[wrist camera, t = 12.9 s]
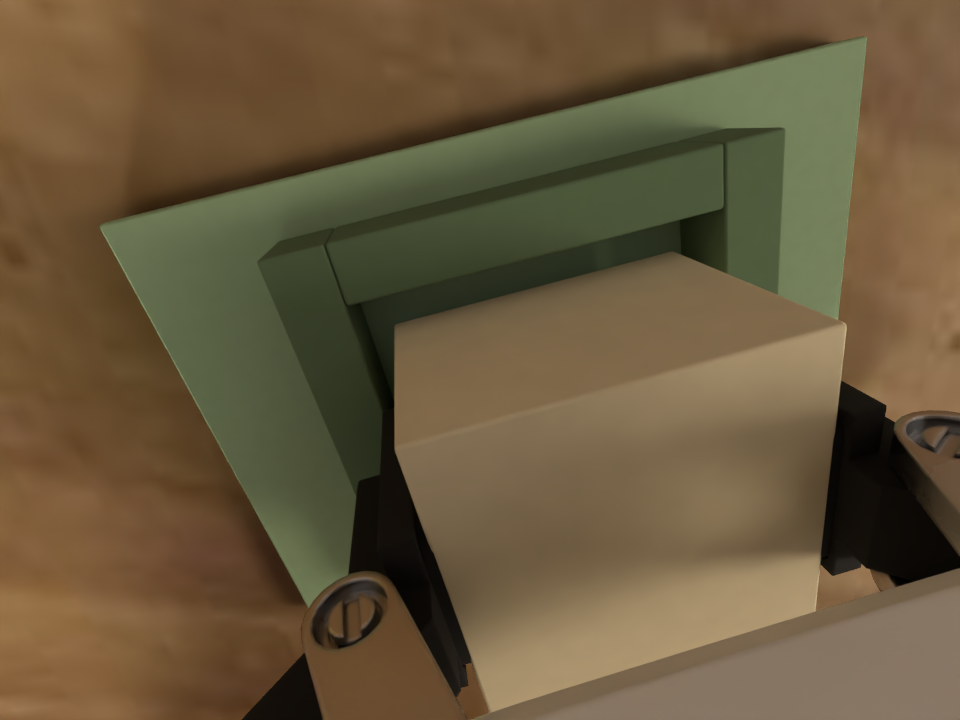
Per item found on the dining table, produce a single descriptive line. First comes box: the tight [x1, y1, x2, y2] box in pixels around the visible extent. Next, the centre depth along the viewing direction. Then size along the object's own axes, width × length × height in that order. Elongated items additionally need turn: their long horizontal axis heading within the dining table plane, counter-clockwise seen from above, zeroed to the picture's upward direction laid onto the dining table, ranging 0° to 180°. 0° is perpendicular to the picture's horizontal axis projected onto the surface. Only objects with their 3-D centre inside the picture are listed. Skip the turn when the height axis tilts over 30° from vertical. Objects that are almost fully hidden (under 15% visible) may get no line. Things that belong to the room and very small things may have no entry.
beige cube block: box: [394, 251, 847, 713], centre depth 10 cm, size 6×6×4 cm
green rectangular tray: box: [100, 36, 867, 608], centre depth 12 cm, size 16×12×3 cm
